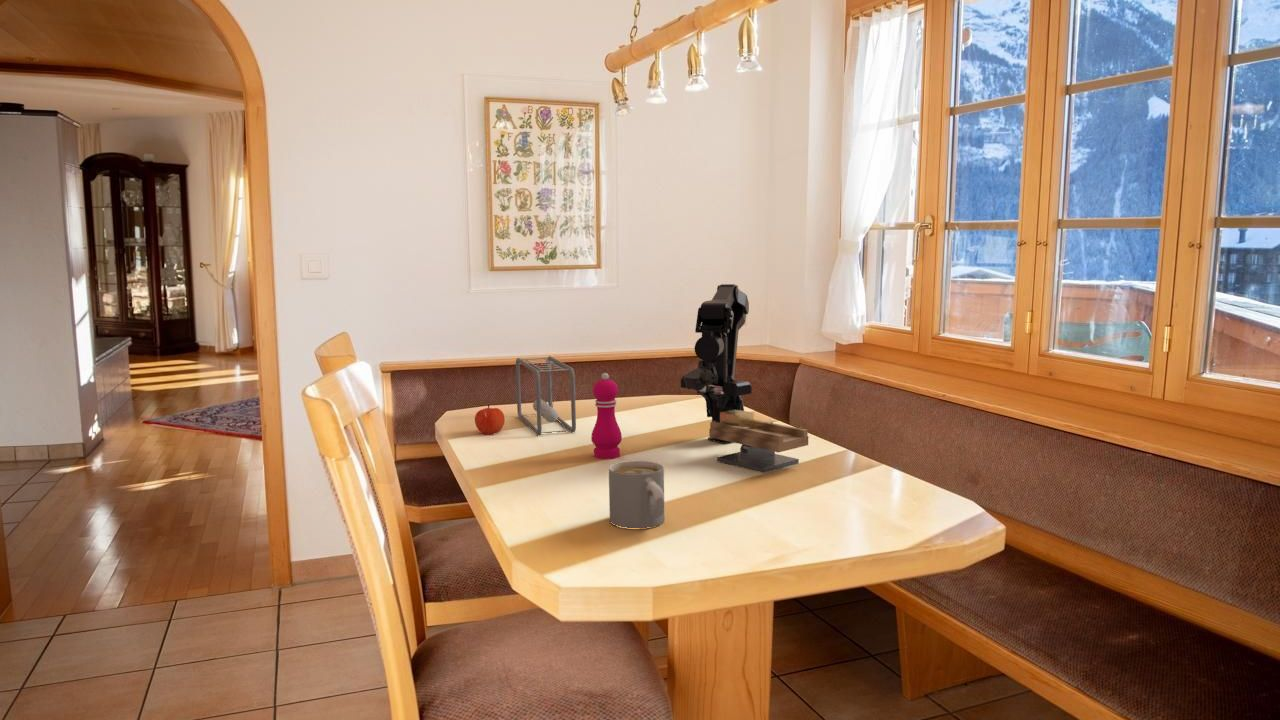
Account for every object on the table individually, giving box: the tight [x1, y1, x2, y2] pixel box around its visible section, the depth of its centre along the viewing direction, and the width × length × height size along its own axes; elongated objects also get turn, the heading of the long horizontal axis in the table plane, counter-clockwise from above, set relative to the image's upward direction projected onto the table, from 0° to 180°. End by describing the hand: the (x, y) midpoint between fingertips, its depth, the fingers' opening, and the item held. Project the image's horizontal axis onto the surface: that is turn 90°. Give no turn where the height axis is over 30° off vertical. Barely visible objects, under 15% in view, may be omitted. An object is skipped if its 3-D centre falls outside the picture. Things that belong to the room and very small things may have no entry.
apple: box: [474, 403, 506, 435], centre depth 233 cm, size 8×8×8 cm
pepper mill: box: [590, 372, 623, 460], centre depth 205 cm, size 7×7×20 cm
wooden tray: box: [708, 419, 809, 453], centre depth 197 cm, size 21×10×4 cm, turn 40°
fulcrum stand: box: [716, 444, 800, 474], centre depth 198 cm, size 14×12×5 cm
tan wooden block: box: [720, 409, 755, 429], centre depth 202 cm, size 6×5×4 cm
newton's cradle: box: [515, 355, 577, 436], centre depth 243 cm, size 30×10×18 cm, turn 18°
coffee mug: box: [608, 460, 666, 528], centre depth 155 cm, size 13×10×10 cm
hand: (715, 420), depth 207 cm, fingers closed
